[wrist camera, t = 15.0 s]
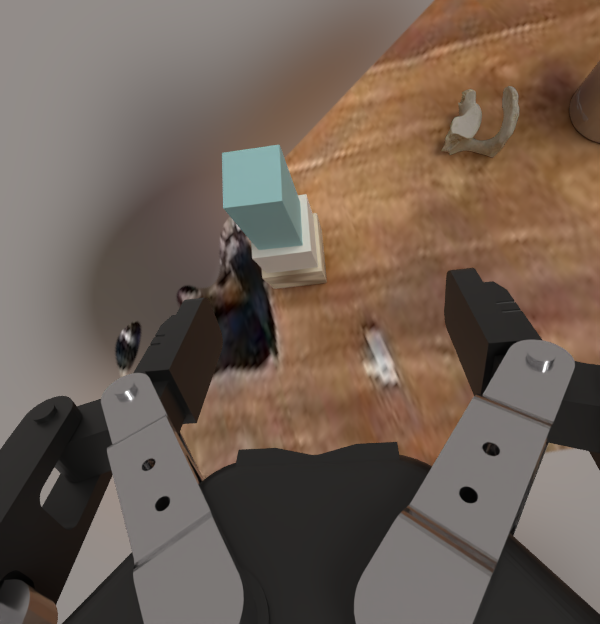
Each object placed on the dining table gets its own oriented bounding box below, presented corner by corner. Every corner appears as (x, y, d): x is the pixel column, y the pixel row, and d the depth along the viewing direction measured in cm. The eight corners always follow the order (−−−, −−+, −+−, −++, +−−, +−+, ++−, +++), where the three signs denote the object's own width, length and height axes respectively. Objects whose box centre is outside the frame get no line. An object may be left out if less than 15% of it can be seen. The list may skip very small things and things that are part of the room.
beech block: (322, 231, 50) (316, 213, 44) (326, 282, 49) (322, 270, 43) (270, 238, 51) (258, 221, 45) (274, 289, 50) (262, 278, 44)
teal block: (300, 202, 38) (279, 144, 28) (302, 245, 37) (282, 200, 27) (257, 207, 39) (222, 152, 29) (258, 249, 38) (223, 208, 28)
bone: (417, 123, 48) (477, 52, 39) (450, 118, 51) (513, 50, 42) (449, 180, 47) (518, 119, 38) (481, 171, 50) (552, 113, 41)
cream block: (313, 217, 44) (306, 194, 38) (318, 267, 43) (311, 251, 37) (263, 224, 45) (249, 202, 39) (267, 273, 44) (252, 258, 38)
